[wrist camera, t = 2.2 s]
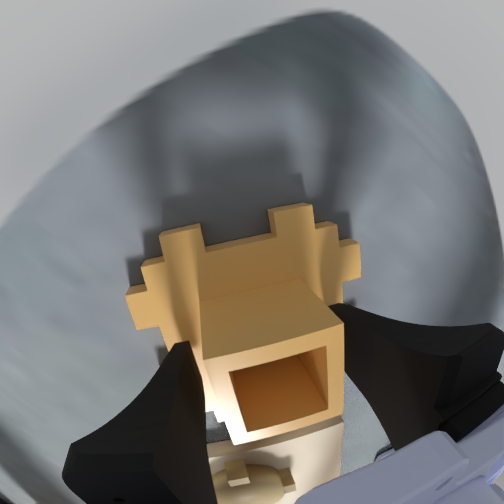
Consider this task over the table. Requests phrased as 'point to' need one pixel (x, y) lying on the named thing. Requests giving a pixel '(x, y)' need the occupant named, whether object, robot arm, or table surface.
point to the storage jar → (3, 501)
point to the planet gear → (256, 318)
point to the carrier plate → (277, 464)
